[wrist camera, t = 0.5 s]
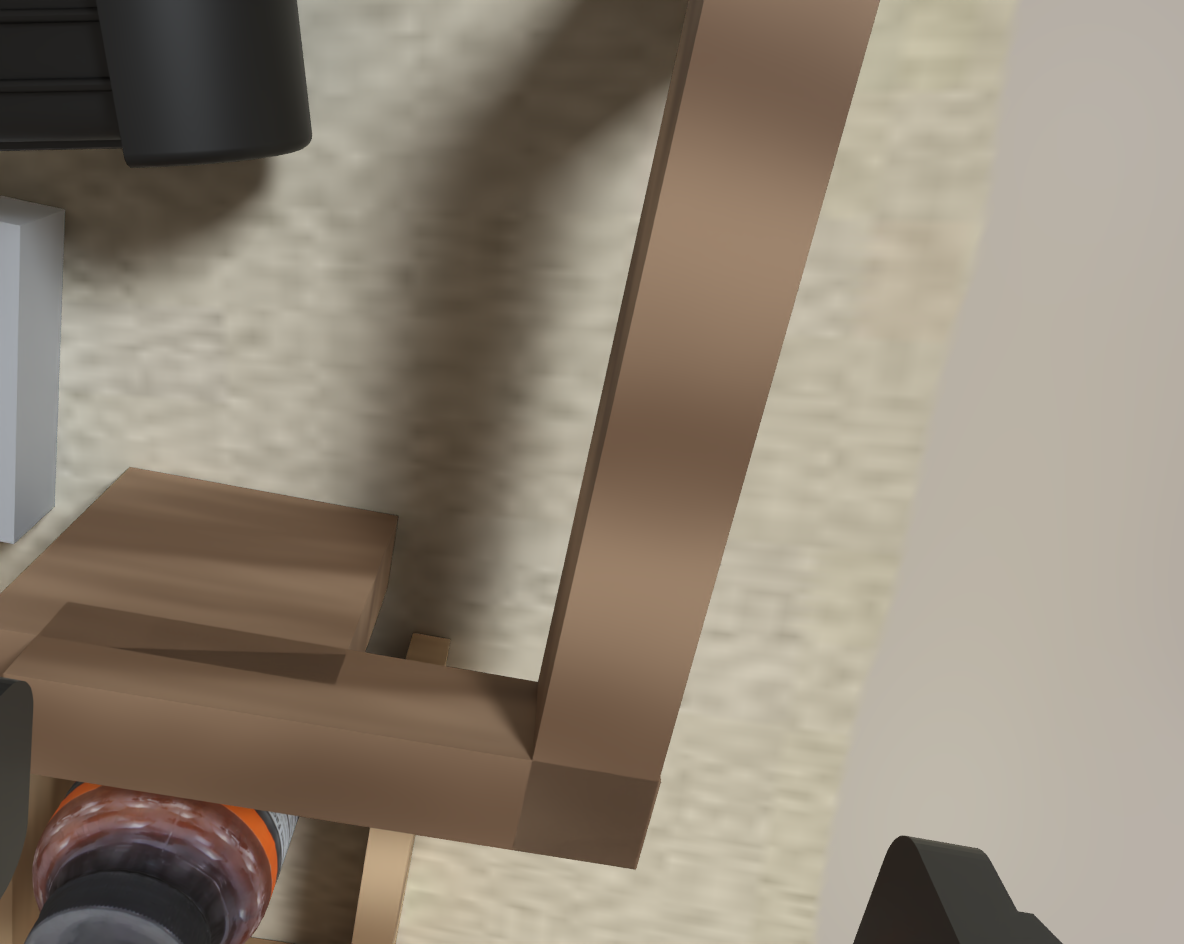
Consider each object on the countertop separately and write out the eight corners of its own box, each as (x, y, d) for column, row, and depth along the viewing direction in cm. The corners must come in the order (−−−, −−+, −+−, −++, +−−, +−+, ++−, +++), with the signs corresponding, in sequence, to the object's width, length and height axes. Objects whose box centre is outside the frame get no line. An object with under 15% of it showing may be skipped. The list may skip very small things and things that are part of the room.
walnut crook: (162, -267, 25) (-108, -450, 15) (807, -114, 26) (937, -192, 16) (126, 541, 33) (-66, 758, 23) (621, 628, 34) (635, 869, 24)
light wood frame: (51, 570, 33) (-34, 658, 29) (450, 639, 34) (429, 735, 30) (46, 931, 39) (-27, 1054, 34) (388, 982, 40) (362, 1107, 35)
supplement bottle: (141, 743, 36) (-42, 1042, 25) (165, 592, 34) (-25, 849, 23) (320, 783, 36) (213, 1090, 26) (354, 637, 34) (253, 907, 24)
